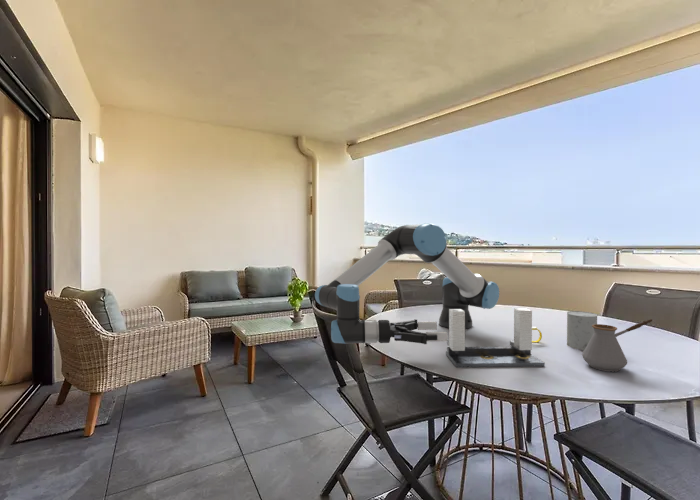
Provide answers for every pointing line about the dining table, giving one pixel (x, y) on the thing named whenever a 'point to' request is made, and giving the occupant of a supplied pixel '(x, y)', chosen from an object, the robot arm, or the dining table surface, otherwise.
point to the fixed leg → (522, 330)
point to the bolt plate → (493, 357)
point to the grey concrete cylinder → (580, 328)
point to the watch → (540, 334)
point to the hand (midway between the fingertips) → (441, 330)
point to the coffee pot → (607, 348)
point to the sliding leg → (456, 330)
